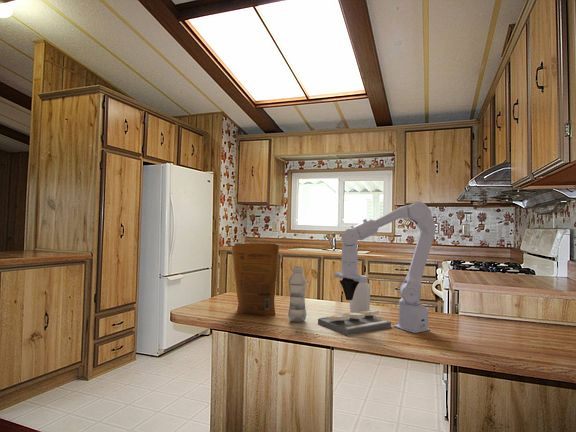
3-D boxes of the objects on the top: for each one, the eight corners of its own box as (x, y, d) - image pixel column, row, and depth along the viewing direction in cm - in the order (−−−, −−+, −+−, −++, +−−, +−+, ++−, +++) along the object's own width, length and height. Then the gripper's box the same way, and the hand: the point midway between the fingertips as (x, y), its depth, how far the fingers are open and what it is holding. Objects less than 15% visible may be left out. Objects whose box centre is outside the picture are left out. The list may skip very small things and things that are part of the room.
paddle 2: (379, 314, 134) (378, 310, 134) (371, 315, 132) (371, 311, 132) (365, 314, 139) (365, 310, 140) (358, 315, 138) (357, 311, 138)
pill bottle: (371, 315, 147) (372, 277, 147) (351, 315, 147) (351, 277, 147) (367, 310, 155) (368, 274, 155) (348, 310, 155) (348, 274, 155)
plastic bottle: (304, 324, 132) (305, 268, 132) (286, 323, 133) (287, 267, 134) (307, 320, 138) (308, 266, 139) (289, 318, 140) (290, 265, 140)
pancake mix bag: (275, 317, 141) (276, 244, 141) (229, 313, 146) (230, 242, 147) (280, 313, 147) (281, 243, 148) (236, 309, 153) (238, 241, 153)
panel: (390, 327, 131) (390, 319, 131) (347, 335, 120) (347, 327, 120) (359, 317, 144) (359, 310, 144) (317, 323, 133) (318, 316, 133)
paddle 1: (349, 319, 126) (349, 315, 127) (341, 320, 124) (341, 316, 125) (336, 319, 132) (336, 315, 132) (328, 320, 130) (328, 316, 130)
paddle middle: (364, 317, 130) (364, 313, 130) (357, 318, 128) (356, 314, 128) (351, 315, 136) (351, 312, 136) (343, 317, 134) (343, 313, 134)
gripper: (328, 260, 139) (328, 297, 138) (355, 264, 126) (354, 304, 126) (342, 260, 142) (342, 295, 142) (370, 263, 130) (369, 302, 130)
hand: (349, 299), depth 134 cm, fingers closed
